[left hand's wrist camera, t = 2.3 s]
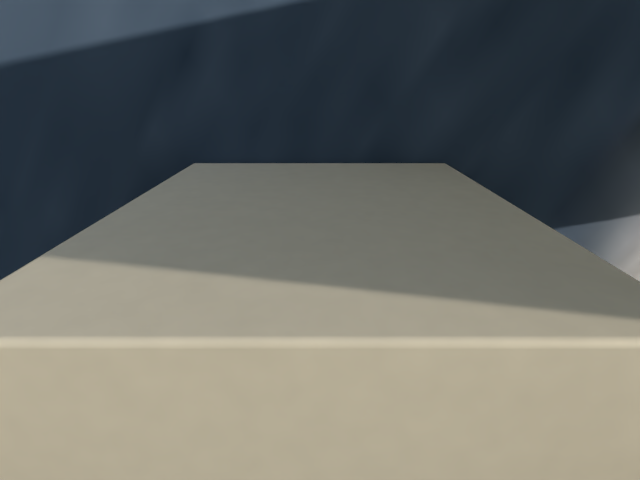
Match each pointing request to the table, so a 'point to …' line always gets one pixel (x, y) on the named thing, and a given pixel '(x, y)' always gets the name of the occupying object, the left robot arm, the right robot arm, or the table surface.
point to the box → (319, 336)
